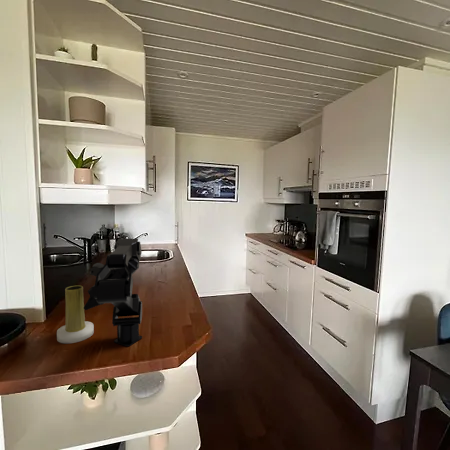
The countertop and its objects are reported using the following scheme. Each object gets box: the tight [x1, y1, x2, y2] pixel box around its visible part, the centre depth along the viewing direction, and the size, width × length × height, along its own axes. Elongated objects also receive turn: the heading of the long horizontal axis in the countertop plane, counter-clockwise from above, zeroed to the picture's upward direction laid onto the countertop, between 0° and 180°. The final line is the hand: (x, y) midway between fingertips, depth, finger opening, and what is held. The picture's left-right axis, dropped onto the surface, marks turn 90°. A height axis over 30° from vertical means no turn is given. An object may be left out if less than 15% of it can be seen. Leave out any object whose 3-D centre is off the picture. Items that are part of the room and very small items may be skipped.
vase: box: [64, 285, 86, 332], centre depth 90 cm, size 6×6×14 cm
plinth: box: [56, 320, 95, 344], centre depth 91 cm, size 11×11×2 cm
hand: (90, 303), depth 90 cm, fingers open, 9 cm apart
